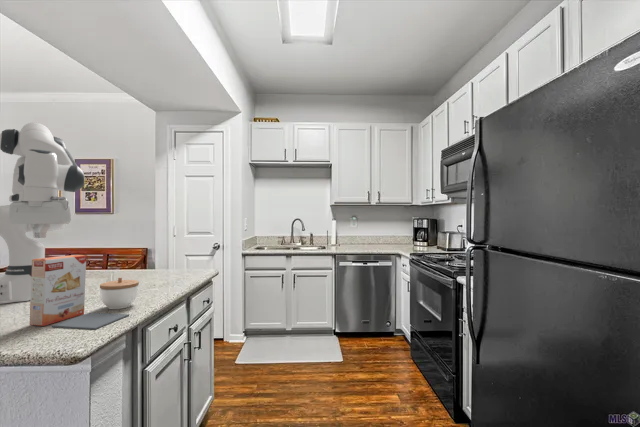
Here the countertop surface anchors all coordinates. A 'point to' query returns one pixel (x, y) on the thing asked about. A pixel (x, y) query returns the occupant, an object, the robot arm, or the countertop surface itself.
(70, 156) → the robot arm
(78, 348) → the countertop surface
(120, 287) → the lidded bowl
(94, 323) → the mat
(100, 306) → the countertop surface
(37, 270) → the cracker box
